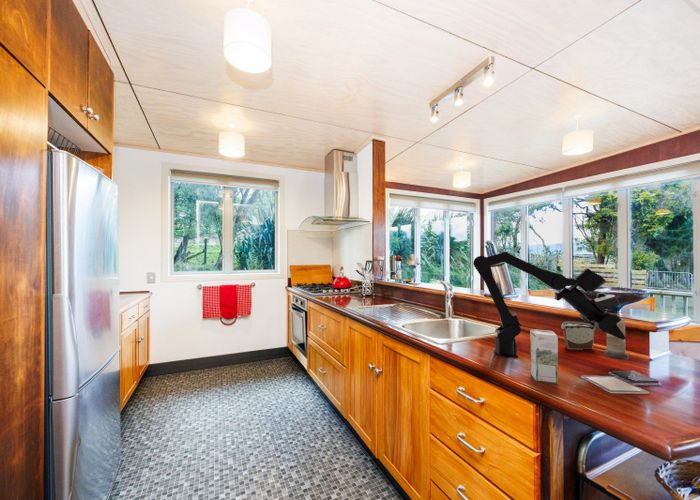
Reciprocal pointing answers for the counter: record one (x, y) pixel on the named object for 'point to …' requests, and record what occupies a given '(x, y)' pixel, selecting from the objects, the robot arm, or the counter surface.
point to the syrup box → (544, 356)
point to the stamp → (616, 344)
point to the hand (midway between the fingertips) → (621, 337)
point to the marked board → (614, 384)
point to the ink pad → (635, 378)
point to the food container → (578, 335)
